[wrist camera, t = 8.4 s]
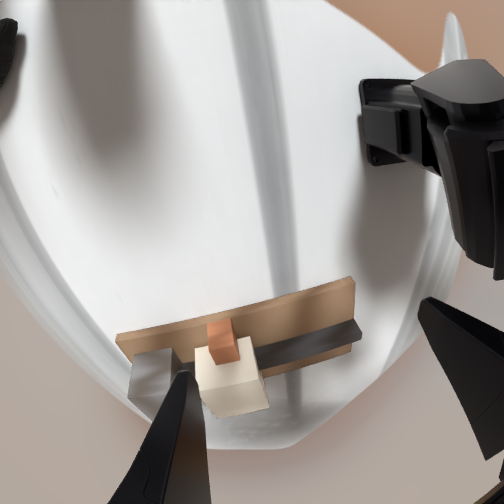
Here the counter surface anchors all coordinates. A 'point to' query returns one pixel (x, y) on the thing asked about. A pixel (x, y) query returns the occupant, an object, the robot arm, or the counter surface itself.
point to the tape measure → (6, 44)
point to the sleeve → (231, 382)
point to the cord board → (239, 326)
